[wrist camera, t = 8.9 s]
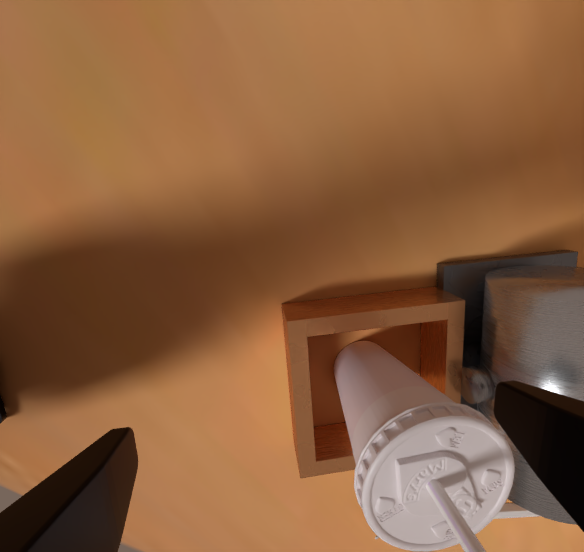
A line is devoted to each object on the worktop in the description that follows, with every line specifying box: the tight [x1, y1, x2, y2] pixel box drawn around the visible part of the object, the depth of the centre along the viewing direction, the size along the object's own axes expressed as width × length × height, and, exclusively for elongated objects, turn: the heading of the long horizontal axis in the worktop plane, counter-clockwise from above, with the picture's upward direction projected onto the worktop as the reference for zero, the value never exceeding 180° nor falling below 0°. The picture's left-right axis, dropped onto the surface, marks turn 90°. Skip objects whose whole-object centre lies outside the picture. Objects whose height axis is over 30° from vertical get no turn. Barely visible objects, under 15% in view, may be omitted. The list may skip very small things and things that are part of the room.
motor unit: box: [282, 250, 584, 524], centre depth 19 cm, size 19×13×8 cm
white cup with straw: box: [334, 341, 515, 552], centre depth 16 cm, size 6×6×14 cm
